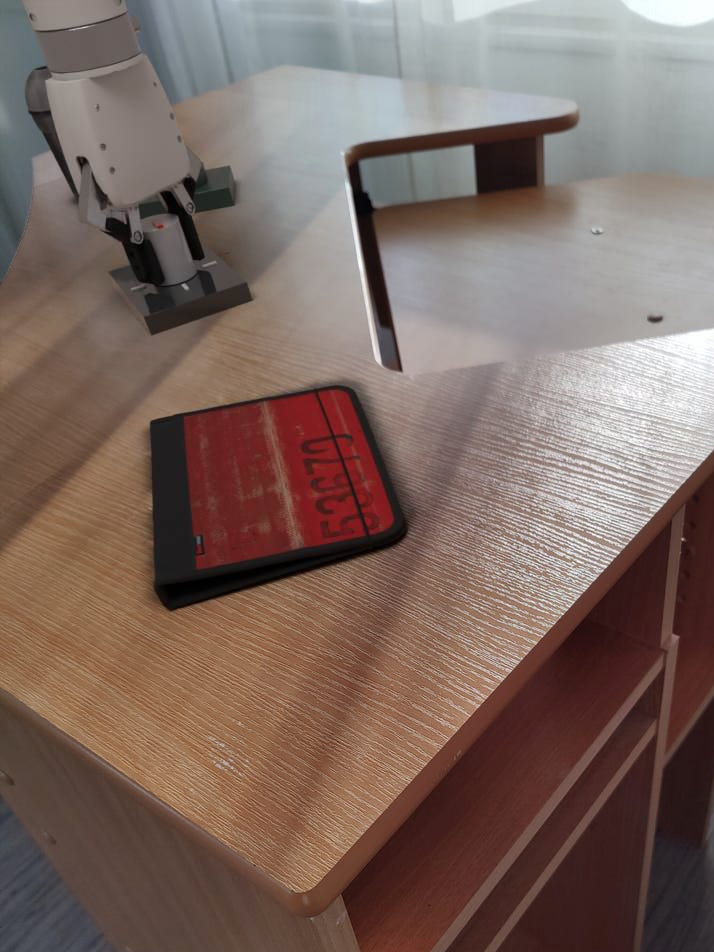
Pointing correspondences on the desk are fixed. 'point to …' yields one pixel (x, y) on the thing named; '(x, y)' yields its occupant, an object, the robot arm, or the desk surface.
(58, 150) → the beverage cup
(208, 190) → the button box
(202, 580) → the binder
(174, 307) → the panel
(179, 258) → the hob knob
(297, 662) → the desk surface
